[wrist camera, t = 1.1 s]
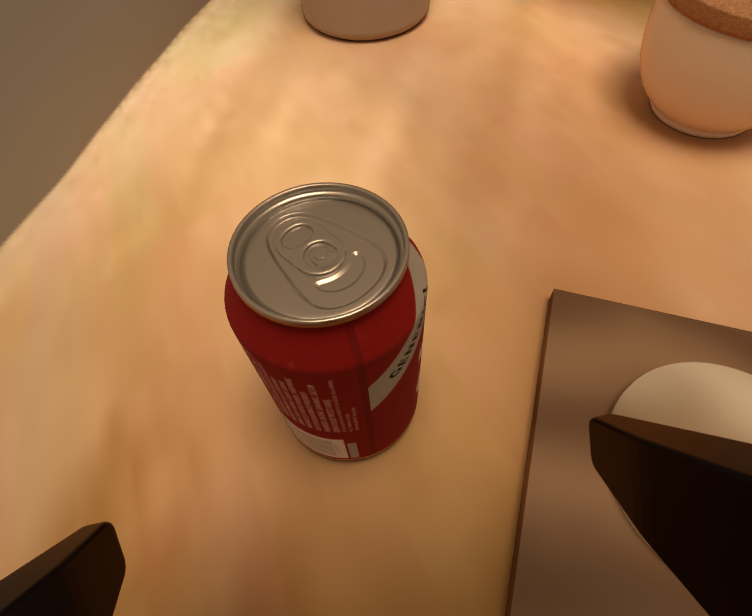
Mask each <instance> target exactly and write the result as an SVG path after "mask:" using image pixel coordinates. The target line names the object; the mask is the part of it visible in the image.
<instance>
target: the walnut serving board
mask: <svg viewBox="0 0 752 616" xmlns="http://www.w3.org/2000/svg"><path fill="white" fill-rule="evenodd" d="M605 414H616V415H621V416H626V417H630V418H635V419H640V420H644V421H649V422H654V423H658V424H663V425H668V426H672V427H677V428H682V429H686V430H691V431H696V432H700V433H705V434H709V435H714V436H719V437H723V438H728V439H733V440H737V441H742V442H747V443H751V444H752V332H750V331H745V330H740V329H736V328H731V327H727V326H722V325H718V324H713V323H708V322H704V321H699V320H695V319H690V318H686V317H681V316H676V315H672V314H667V313H663V312H658V311H653V310H649V309H644V308H640V307H635V306H631V305H626V304H621V303H617V302H612V301H608V300H603V299H598V298H594V297H589V296H585V295H580V294H576V293H571V292H566V291H562V290H557V289H554V290H553V292H552V295H551V297H550V299H549V305H548V312H547V320H546V327H545V334H544V341H543V348H542V355H541V363H540V370H539V377H538V384H537V391H536V399H535V406H534V413H533V420H532V427H531V434H530V442H529V449H528V456H527V463H526V470H525V478H524V485H523V492H522V499H521V506H520V513H519V521H518V528H517V535H516V542H515V549H514V557H513V564H512V571H511V578H510V585H509V592H508V600H507V607H506V614H505V616H709V615H708V614H707V612H706V611H705V610H704V609H703V608H702V607H701V605H700V604H699V603H698V602H697V601H696V600H695V598H694V597H693V596H692V595H691V594H690V592H689V591H688V590H687V589H686V588H685V587H684V585H683V584H682V583H681V582H680V581H679V580H678V578H677V577H676V576H675V575H674V574H673V572H672V571H671V570H670V569H669V568H668V567H667V565H666V564H665V563H664V562H663V561H662V560H661V558H660V557H659V556H658V555H657V554H656V552H655V551H654V550H653V549H652V548H651V546H650V545H649V544H648V543H647V542H646V540H645V539H644V538H643V537H642V535H641V534H640V533H639V531H638V530H637V528H636V527H635V526H634V524H633V523H632V521H631V520H630V519H629V517H628V516H627V514H626V513H625V511H624V510H623V508H622V507H621V506H620V504H619V503H618V501H617V500H616V498H615V497H614V496H613V494H612V493H611V491H610V490H609V488H608V487H607V485H606V484H605V483H604V481H603V480H602V478H601V477H600V475H599V474H598V472H597V471H596V469H595V468H594V465H593V463H592V459H591V452H590V438H589V421H590V420H591V418H593V417H596V416H600V415H605Z"/></svg>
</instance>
